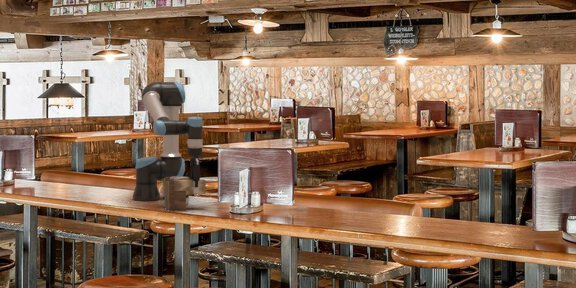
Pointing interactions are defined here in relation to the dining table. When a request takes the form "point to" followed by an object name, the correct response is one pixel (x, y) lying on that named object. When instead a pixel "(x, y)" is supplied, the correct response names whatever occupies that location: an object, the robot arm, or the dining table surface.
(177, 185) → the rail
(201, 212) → the dining table surface
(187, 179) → the tea box
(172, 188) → the brown box
